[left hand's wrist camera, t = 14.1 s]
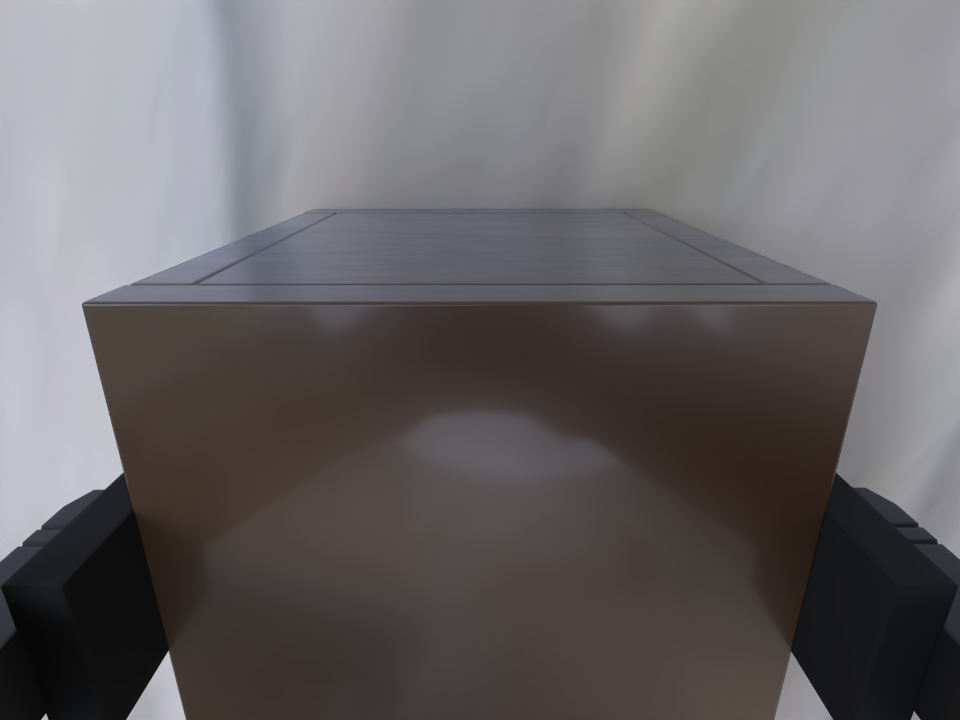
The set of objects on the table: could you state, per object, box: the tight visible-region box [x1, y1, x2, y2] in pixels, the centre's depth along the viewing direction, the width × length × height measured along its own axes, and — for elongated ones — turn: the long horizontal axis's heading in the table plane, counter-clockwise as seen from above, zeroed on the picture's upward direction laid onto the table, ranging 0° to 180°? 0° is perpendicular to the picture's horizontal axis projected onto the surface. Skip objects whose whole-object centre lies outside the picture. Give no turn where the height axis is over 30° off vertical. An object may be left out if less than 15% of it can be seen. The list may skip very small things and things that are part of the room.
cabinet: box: [82, 209, 877, 720], centre depth 16 cm, size 20×10×11 cm, turn 0°
